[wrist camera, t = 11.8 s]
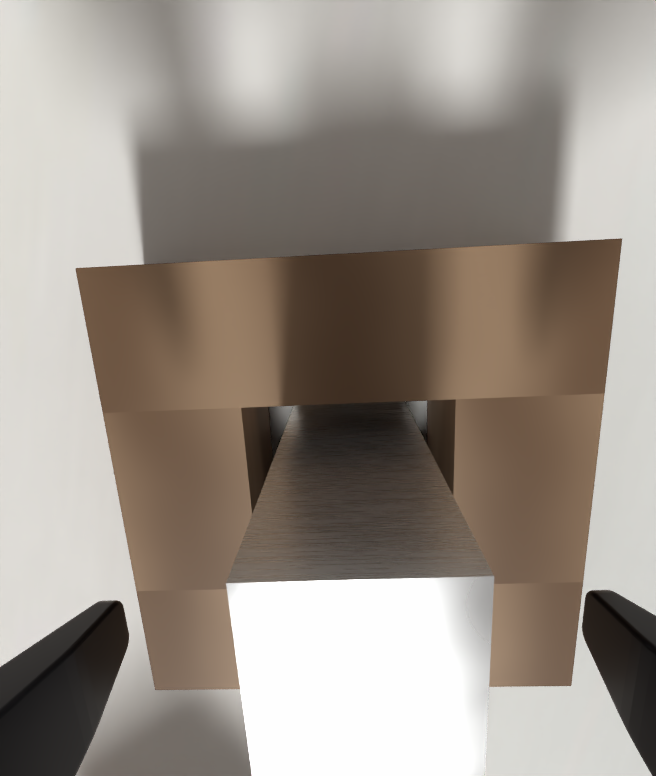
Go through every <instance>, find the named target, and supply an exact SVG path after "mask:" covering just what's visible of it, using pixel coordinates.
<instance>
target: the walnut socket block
mask: <svg viewBox="0 0 656 776" xmlns="http://www.w3.org/2000/svg"><path fill="white" fill-rule="evenodd" d="M621 244H622V239H605V240H587V241H569V242H550V243H532V244H513V245H495V246H476V247H458V248H440V249H421V250H403V251H384V252H366V253H348V254H329V255H311V256H292V257H274V258H256V259H237V260H219V261H200V262H182V263H163V264H145V265H127V266H108V267H90V268H76V274H77V279H78V284H79V290H80V295H81V300H82V305H83V311H84V316H85V321H86V327H87V332H88V337H89V342H90V348H91V353H92V358H93V364H94V369H95V374H96V379H97V385H98V390H99V395H100V401H101V406H102V411H103V416H104V422H105V427H106V432H107V438H108V443H109V448H110V453H111V459H112V464H113V469H114V475H115V480H116V485H117V490H118V496H119V501H120V506H121V512H122V517H123V522H124V527H125V533H126V538H127V543H128V549H129V554H130V559H131V564H132V570H133V575H134V580H135V586H136V591H137V596H138V601H139V607H140V612H141V617H142V623H143V628H144V633H145V638H146V644H147V649H148V654H149V660H150V665H151V670H152V675H153V681H154V686H155V690H193V689H240V683H239V676H238V668H237V661H236V654H235V646H234V639H233V631H232V624H231V617H230V609H229V602H228V594H227V587H226V582H227V579H228V577H229V574H230V572H231V569H232V566H233V564H234V561H235V558H236V556H237V553H238V551H239V548H240V545H241V543H242V540H243V537H244V535H245V532H246V530H247V527H248V524H249V522H250V519H251V516H252V514H253V511H254V509H255V506H256V503H257V501H258V498H259V495H260V493H261V490H262V488H263V485H264V482H265V480H266V477H267V474H268V472H269V469H270V467H271V464H272V461H273V454H272V443H271V431H270V420H269V409H268V407H272V406H297V405H323V404H349V403H374V402H400V401H426V400H427V446H428V448H429V450H430V452H431V454H432V456H433V457H434V459H435V461H436V463H437V465H438V467H439V469H440V471H441V473H442V475H443V477H444V479H445V481H446V483H447V485H448V487H449V489H450V491H451V493H452V495H453V497H454V499H455V500H456V502H457V504H458V506H459V508H460V510H461V512H462V514H463V516H464V518H465V520H466V522H467V524H468V526H469V528H470V530H471V532H472V534H473V536H474V538H475V540H476V542H477V543H478V545H479V547H480V549H481V551H482V553H483V555H484V557H485V559H486V561H487V563H488V565H489V567H490V569H491V571H492V573H493V575H494V593H493V614H492V636H491V657H490V679H489V687H504V686H571V683H572V674H573V665H574V657H575V648H576V639H577V630H578V621H579V613H580V604H581V595H582V586H583V578H584V569H585V560H586V551H587V542H588V534H589V525H590V516H591V507H592V499H593V490H594V481H595V472H596V463H597V455H598V446H599V437H600V428H601V420H602V411H603V402H604V393H605V384H606V376H607V367H608V358H609V349H610V341H611V332H612V323H613V314H614V306H615V297H616V288H617V279H618V270H619V262H620V253H621Z"/></svg>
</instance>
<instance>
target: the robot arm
mask: <svg viewBox="0 0 656 776" xmlns="http://www.w3.org/2000/svg"><path fill="white" fill-rule="evenodd" d="M582 631H583V636H584V639H585V641H586V644H587V646H588V648H589V650H590V652H591V654H592V657H593V659H594V661H595V663H596V665H597V667H598V670H599V672H600V674H601V676H602V678H603V680H604V683H605V685H606V687H607V689H608V691H609V693H610V696H611V698H612V700H613V702H614V704H615V706H616V709H617V711H618V713H619V715H620V717H621V719H622V721H623V723H624V725H625V727H626V729H627V731H628V733H629V735H630V737H631V739H632V741H633V742H634V744H635V746H636V748H637V750H638V751H639V753H640V755H641V757H642V758H643V760H644V762H645V764H646V765H647V767H648V769H649V771H650V772H651V774H652V776H656V616H655V615H653V614H652V613H650V612H648V611H646V610H645V609H643V608H641V607H639V606H638V605H636V604H634V603H633V602H631V601H629V600H627V599H626V598H624V597H622V596H621V595H619V594H617V593H615V592H613V591H610V590H592V591H589V592H588V593H587V594H586V598H585V606H584V614H583V623H582ZM128 642H129V632H128V627H127V622H126V617H125V612H124V608H123V605H122V603H121V602H120V601H99V602H97V603H95V604H94V605H92V606H91V607H89V608H88V609H86V610H85V611H83V612H82V613H80V614H79V615H77V616H76V617H74V618H73V619H71V620H70V621H68V622H67V623H65V624H64V625H62V626H61V627H59V628H58V629H56V630H55V631H53V632H52V633H50V634H49V635H47V636H46V637H44V638H43V639H42V640H40V641H39V642H37V643H36V644H34V645H33V646H31V647H30V648H28V649H27V650H25V651H24V652H22V653H21V654H19V655H18V656H16V657H15V658H13V659H12V660H10V661H9V662H7V663H6V664H4V665H3V666H1V667H0V776H75V775H76V773H77V771H78V769H79V767H80V765H81V762H82V760H83V758H84V756H85V754H86V752H87V750H88V748H89V745H90V743H91V741H92V739H93V737H94V734H95V732H96V729H97V727H98V724H99V722H100V719H101V717H102V714H103V711H104V709H105V706H106V703H107V701H108V698H109V695H110V693H111V690H112V687H113V685H114V682H115V679H116V677H117V674H118V671H119V669H120V666H121V663H122V661H123V658H124V655H125V653H126V650H127V647H128Z"/></svg>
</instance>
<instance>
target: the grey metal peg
mask: <svg viewBox="0 0 656 776" xmlns="http://www.w3.org/2000/svg"><path fill="white" fill-rule="evenodd" d="M226 587H227V594H228V602H229V609H230V617H231V624H232V631H233V639H234V646H235V654H236V661H237V668H238V676H239V683H240V691H241V698H242V705H243V713H244V720H245V728H246V735H247V742H248V750H249V757H250V765H251V772H252V776H485V765H486V743H487V722H488V700H489V679H490V657H491V636H492V614H493V593H494V575H493V573H492V571H491V569H490V567H489V565H488V563H487V561H486V559H485V557H484V555H483V553H482V551H481V549H480V547H479V545H478V543H477V542H476V540H475V538H474V536H473V534H472V532H471V530H470V528H469V526H468V524H467V522H466V520H465V518H464V516H463V514H462V512H461V510H460V508H459V506H458V504H457V502H456V500H455V499H454V497H453V495H452V493H451V491H450V489H449V487H448V485H447V483H446V481H445V479H444V477H443V475H442V473H441V471H440V469H439V467H438V465H437V463H436V461H435V459H434V457H433V456H432V454H431V452H430V450H429V448H428V446H427V444H426V442H425V440H424V438H423V436H422V434H421V432H420V430H419V428H418V426H417V424H416V422H415V420H414V418H413V416H412V414H411V413H410V411H409V409H408V407H407V405H406V403H405V401H400V402H374V403H349V404H323V405H297V406H293V409H292V411H291V414H290V417H289V419H288V422H287V425H286V427H285V430H284V432H283V435H282V438H281V440H280V443H279V446H278V448H277V451H276V453H275V456H274V459H273V461H272V464H271V467H270V469H269V472H268V474H267V477H266V480H265V482H264V485H263V488H262V490H261V493H260V495H259V498H258V501H257V503H256V506H255V509H254V511H253V514H252V516H251V519H250V522H249V524H248V527H247V530H246V532H245V535H244V537H243V540H242V543H241V545H240V548H239V551H238V553H237V556H236V558H235V561H234V564H233V566H232V569H231V572H230V574H229V577H228V579H227V582H226Z"/></svg>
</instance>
